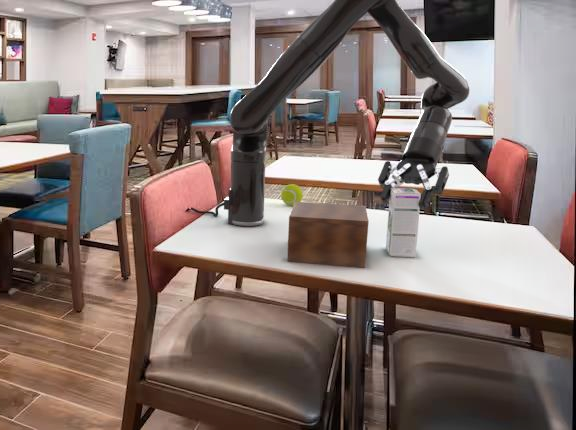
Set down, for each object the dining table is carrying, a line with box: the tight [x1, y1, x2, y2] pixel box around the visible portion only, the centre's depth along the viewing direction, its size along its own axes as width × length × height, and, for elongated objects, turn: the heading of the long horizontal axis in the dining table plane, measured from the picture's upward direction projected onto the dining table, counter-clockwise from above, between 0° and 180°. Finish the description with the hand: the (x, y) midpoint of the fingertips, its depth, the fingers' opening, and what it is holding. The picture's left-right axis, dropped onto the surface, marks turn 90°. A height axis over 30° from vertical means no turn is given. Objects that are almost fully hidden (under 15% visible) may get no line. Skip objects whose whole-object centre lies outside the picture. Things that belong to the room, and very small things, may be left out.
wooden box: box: [286, 201, 369, 269], centre depth 120 cm, size 16×15×10 cm
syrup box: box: [385, 187, 422, 258], centre depth 120 cm, size 6×6×14 cm
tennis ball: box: [280, 183, 304, 207], centre depth 169 cm, size 7×7×7 cm
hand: (402, 204), depth 118 cm, fingers closed on syrup box, 7 cm apart
